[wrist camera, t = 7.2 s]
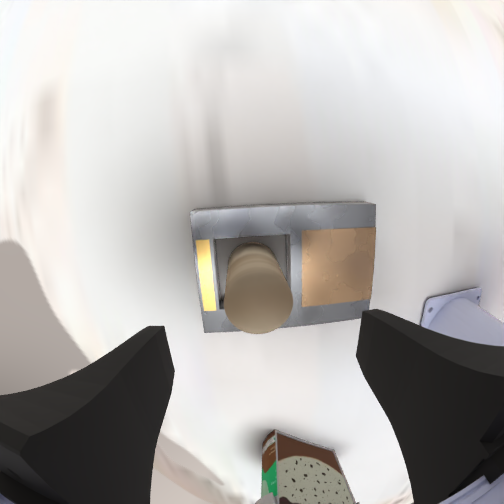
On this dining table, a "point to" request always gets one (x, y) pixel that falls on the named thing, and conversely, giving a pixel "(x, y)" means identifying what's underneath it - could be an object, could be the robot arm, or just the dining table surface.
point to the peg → (256, 290)
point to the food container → (301, 473)
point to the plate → (295, 257)
